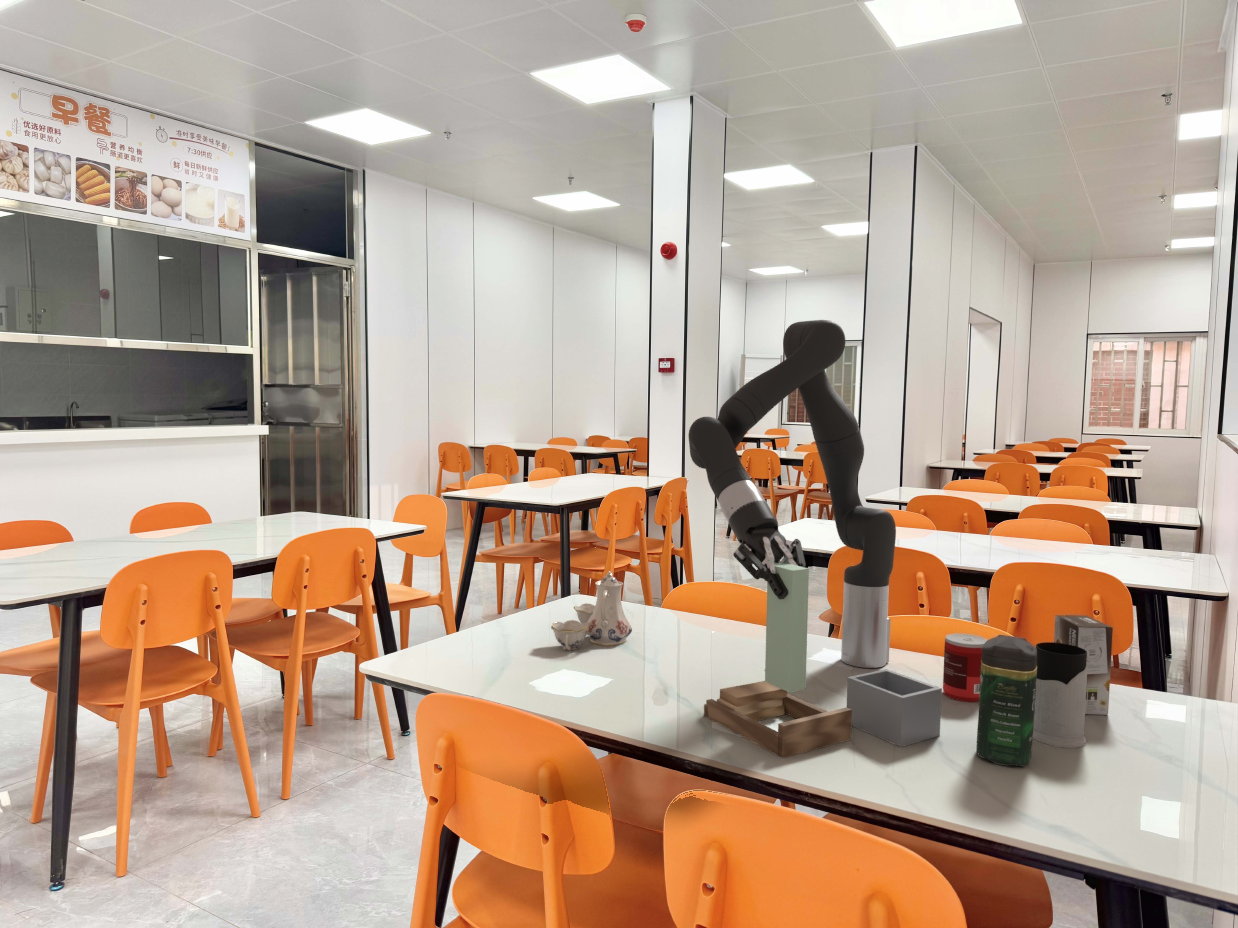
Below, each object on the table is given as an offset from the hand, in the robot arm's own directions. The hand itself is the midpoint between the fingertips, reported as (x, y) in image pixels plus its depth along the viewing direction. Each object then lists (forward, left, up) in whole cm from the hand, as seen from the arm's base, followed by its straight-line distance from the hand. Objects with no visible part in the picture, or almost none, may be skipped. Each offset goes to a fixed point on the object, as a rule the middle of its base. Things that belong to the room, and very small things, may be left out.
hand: (793, 594), depth 134 cm
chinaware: (0, -64, -24) cm, 69 cm away
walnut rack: (0, -3, -23) cm, 24 cm away
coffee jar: (-24, +23, -24) cm, 41 cm away
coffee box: (-57, +16, -24) cm, 64 cm away
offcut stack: (0, -10, -23) cm, 25 cm away
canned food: (-43, +2, -24) cm, 49 cm away
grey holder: (-17, +7, -23) cm, 30 cm away
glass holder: (-38, +20, -24) cm, 49 cm away
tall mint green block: (0, -2, -15) cm, 16 cm away
